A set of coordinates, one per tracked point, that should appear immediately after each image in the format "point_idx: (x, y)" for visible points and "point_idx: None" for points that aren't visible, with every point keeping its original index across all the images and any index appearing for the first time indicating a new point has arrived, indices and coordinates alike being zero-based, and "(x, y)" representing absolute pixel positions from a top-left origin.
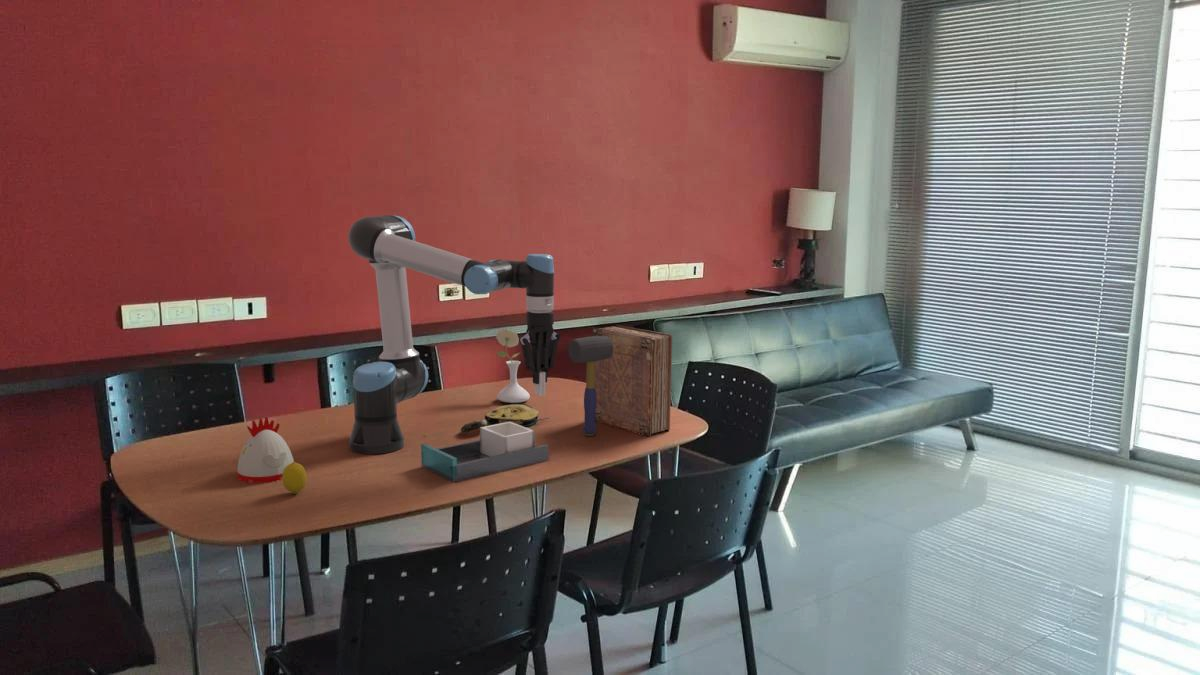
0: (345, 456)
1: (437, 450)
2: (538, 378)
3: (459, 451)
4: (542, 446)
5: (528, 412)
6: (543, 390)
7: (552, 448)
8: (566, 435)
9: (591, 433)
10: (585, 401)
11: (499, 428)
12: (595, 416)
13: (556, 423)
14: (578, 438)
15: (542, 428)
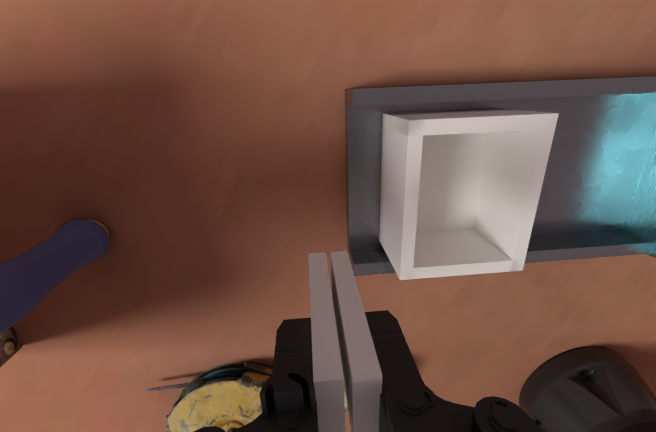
0: (651, 363)
1: None
2: (374, 344)
3: (540, 241)
4: (379, 88)
5: (204, 414)
6: (325, 269)
7: (268, 183)
8: (166, 264)
9: (90, 220)
10: (20, 300)
11: (448, 257)
12: (4, 344)
13: (141, 361)
14: (145, 223)
15: (198, 343)
